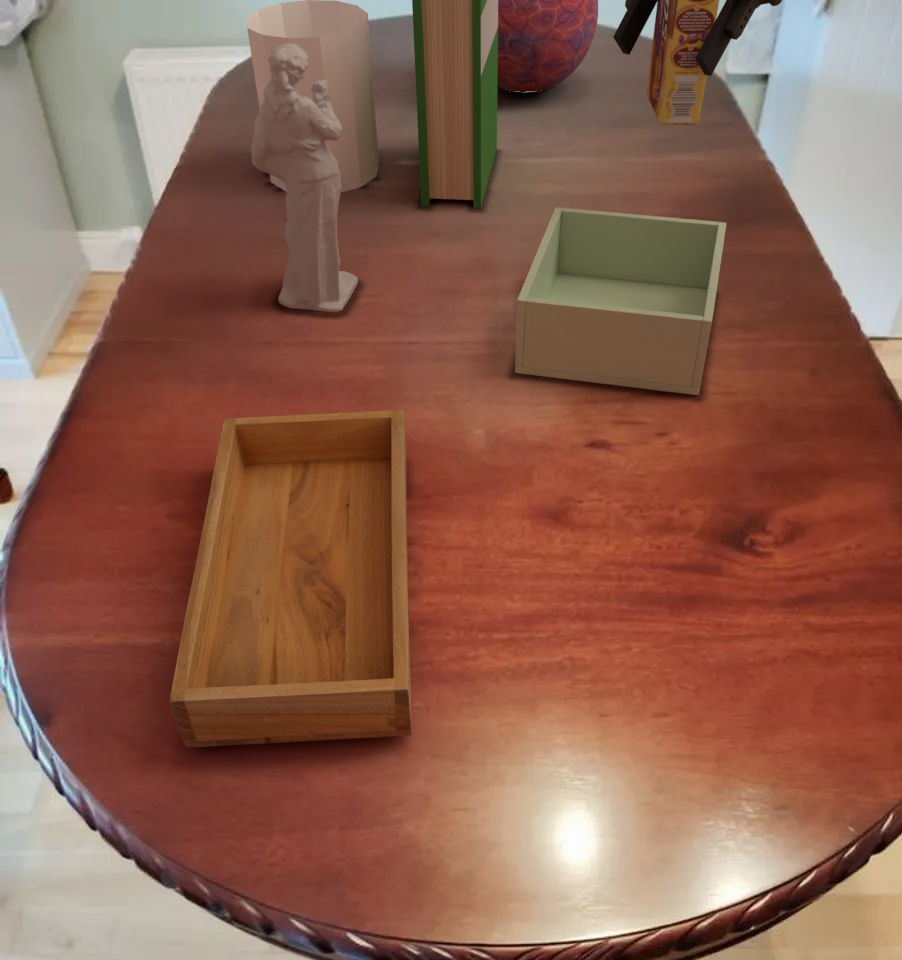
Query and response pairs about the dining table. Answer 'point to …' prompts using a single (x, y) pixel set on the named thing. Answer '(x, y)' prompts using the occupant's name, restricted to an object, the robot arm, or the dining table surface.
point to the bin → (620, 300)
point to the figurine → (304, 181)
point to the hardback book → (456, 96)
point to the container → (326, 73)
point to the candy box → (679, 59)
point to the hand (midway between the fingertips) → (661, 56)
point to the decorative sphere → (542, 41)
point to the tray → (300, 585)
